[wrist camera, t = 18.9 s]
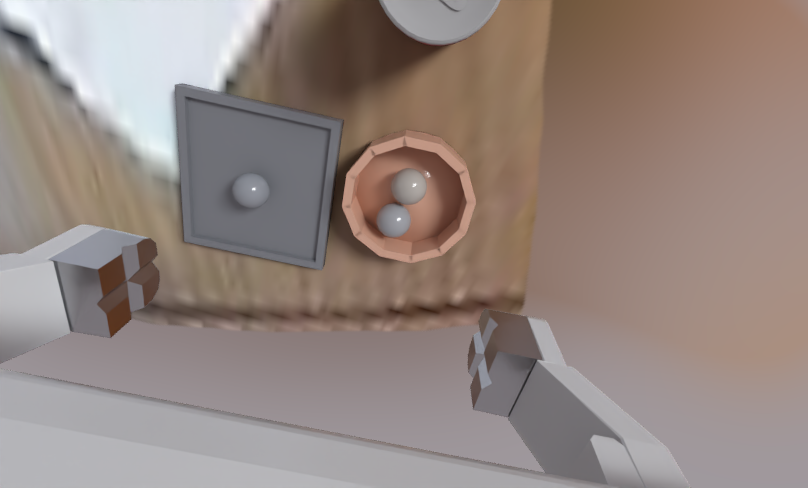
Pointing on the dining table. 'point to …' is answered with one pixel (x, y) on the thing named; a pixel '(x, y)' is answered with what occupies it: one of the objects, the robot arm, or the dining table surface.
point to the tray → (264, 155)
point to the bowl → (430, 218)
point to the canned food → (439, 18)
